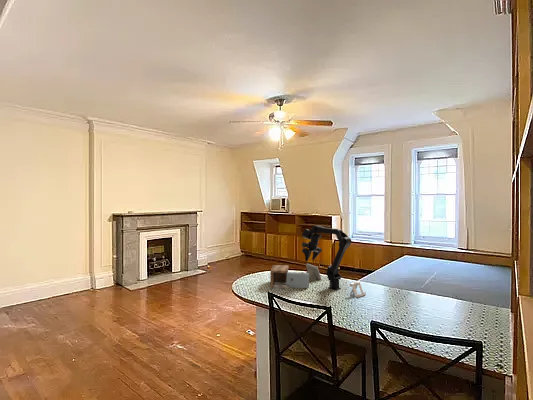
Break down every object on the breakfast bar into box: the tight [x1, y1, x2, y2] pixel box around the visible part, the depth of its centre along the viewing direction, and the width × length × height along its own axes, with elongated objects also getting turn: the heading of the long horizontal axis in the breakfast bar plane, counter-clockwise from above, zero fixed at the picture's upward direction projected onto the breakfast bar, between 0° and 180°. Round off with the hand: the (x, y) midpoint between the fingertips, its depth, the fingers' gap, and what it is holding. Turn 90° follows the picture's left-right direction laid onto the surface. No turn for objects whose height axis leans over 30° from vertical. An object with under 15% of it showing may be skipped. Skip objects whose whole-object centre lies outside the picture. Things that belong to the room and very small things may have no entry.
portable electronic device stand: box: [349, 280, 367, 298], centre depth 212 cm, size 9×8×8 cm
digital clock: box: [305, 263, 322, 281], centre depth 256 cm, size 16×9×11 cm, turn 13°
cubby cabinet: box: [269, 264, 290, 289], centre depth 237 cm, size 14×18×12 cm
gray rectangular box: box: [287, 271, 310, 289], centre depth 230 cm, size 16×5×10 cm, turn 83°
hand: (309, 260), depth 242 cm, fingers open, 9 cm apart
